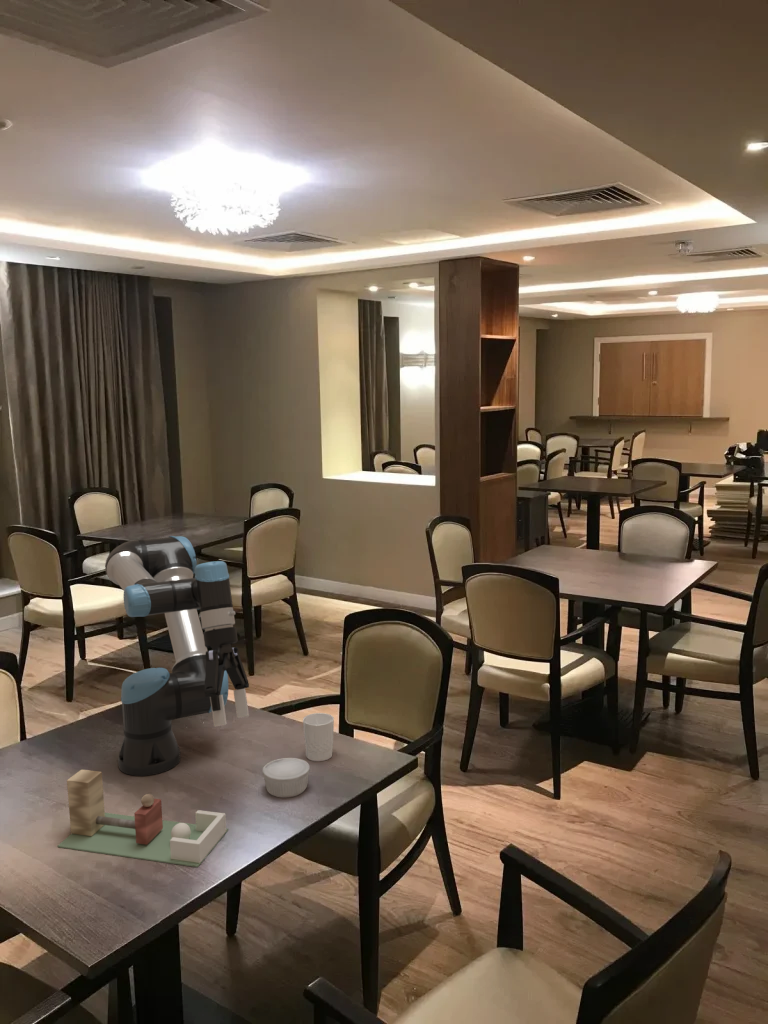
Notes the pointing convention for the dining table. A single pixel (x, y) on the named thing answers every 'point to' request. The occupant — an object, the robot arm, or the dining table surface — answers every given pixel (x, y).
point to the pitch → (131, 842)
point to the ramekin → (286, 777)
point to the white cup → (318, 736)
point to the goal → (201, 847)
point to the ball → (181, 831)
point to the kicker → (91, 814)
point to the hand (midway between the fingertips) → (232, 721)
